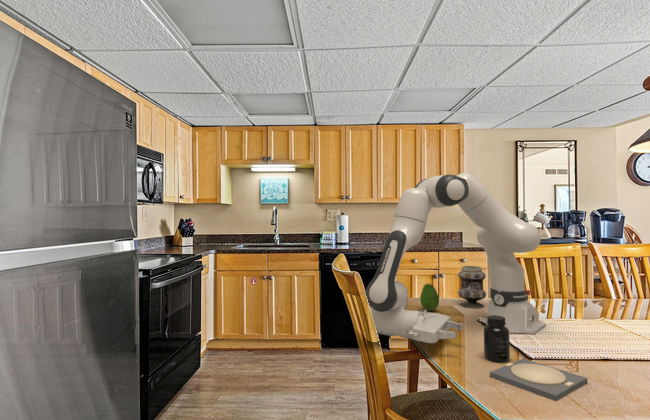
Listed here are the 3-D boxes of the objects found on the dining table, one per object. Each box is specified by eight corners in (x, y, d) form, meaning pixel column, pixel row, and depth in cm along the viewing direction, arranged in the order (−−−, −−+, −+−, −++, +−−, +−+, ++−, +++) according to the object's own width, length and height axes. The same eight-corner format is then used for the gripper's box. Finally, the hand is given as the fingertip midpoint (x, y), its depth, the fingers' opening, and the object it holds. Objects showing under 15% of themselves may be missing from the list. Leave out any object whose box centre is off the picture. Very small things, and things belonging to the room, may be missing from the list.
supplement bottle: (479, 355, 114) (479, 314, 114) (501, 354, 115) (501, 313, 115) (491, 363, 107) (490, 320, 107) (515, 362, 108) (514, 319, 108)
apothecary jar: (490, 305, 177) (489, 266, 177) (480, 310, 168) (479, 269, 168) (464, 301, 185) (464, 264, 185) (453, 306, 176) (453, 266, 177)
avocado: (416, 311, 168) (416, 283, 168) (426, 308, 173) (426, 281, 174) (433, 314, 162) (432, 285, 162) (442, 311, 167) (442, 283, 168)
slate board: (523, 362, 108) (522, 356, 108) (587, 382, 94) (587, 375, 94) (489, 376, 99) (489, 369, 99) (555, 400, 85) (555, 392, 85)
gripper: (403, 323, 115) (451, 329, 108) (423, 308, 132) (465, 313, 125) (403, 344, 114) (451, 352, 107) (423, 327, 132) (465, 332, 125)
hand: (459, 331), depth 116 cm, fingers open, 8 cm apart
